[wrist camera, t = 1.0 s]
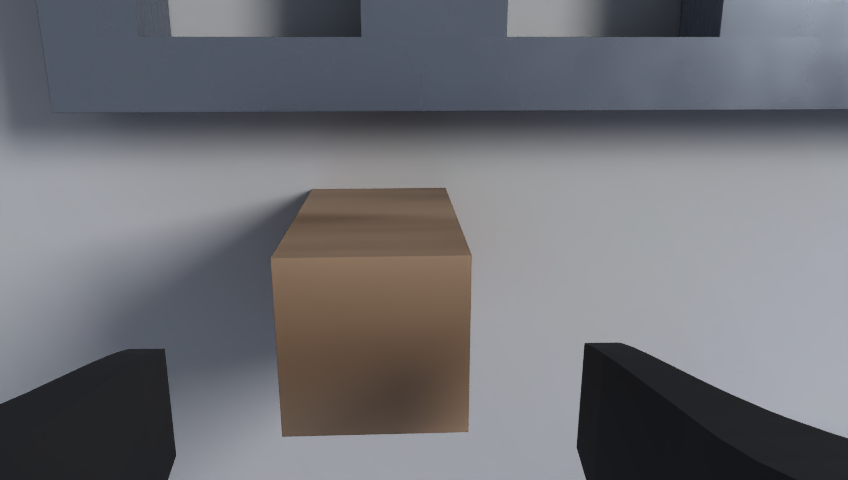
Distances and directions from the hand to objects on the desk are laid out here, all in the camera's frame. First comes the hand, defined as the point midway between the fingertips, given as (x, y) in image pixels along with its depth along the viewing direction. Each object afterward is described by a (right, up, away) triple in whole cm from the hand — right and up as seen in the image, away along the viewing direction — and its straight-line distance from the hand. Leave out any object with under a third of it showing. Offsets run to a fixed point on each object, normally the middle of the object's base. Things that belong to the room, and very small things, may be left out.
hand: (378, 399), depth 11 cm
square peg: (-1, +2, +9) cm, 9 cm away
